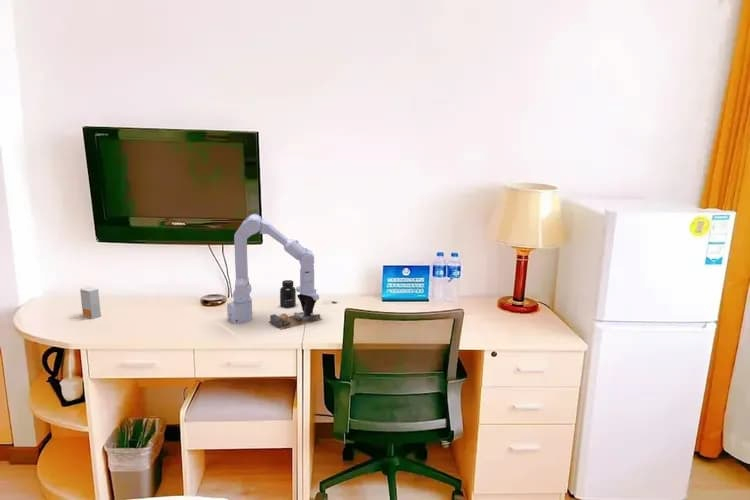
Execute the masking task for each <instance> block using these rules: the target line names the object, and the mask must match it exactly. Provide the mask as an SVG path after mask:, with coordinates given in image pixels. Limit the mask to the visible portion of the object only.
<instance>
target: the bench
mask: <svg viewBox="0 0 750 500" xmlns="http://www.w3.org/2000/svg"><path fill="white" fill-rule="evenodd" d="M303 313H304V312H303V311H302V312H301V311H300V312H298V314H303ZM312 314H314V311H313V312H312ZM279 316H280V315H277V314H275V313H274V314H270V315H269V321H267V323H268V324H271V325H272V326H274V327H276V328H277V329H279V330H280V331H282V330H286V329H291V328H294V327H299V326H303V325H307V324H311V323H315V322H320V321H323V320H324V319H323V318H321V314H320V313H317V314H314V315H312V316H308V317H304V318H301V321H298V320H297V319H295V318H294V315H291V316H288V317H289V320H288V322H285V323H283V324H282V318H280V317H279Z"/></svg>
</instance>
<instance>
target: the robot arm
mask: <svg viewBox="0 0 750 500" xmlns="http://www.w3.org/2000/svg"><path fill="white" fill-rule="evenodd" d="M258 233H259V234H261V235H268V236H269V237H270V238H272V239H274V240H275V241H276V242H278V243H279V244H281V245H282V246H283V250H284V251H285V252H286V253H288V254H289V255H290V256H291V257H293V258H294V259H295V260H297V261H298V263H299V264H300V269H299V272H300V273H299V278H300V279H299V286H296V287H295V289H296V293H299V294H296V298H298V300H299V302H300V306H301V309H302V312H304V303H305V304H306V310H307V314H311V313H312V312H313V313H314V307H315V304H316V303H317V301H318V300H320V294H318V293H317V289H316V288H315V268H314V267H315V265H314V264H315V254H314V253H313V252H312V250H311V249H308V248H307V247H304V246H303V245H302V244H301V243H299V242H300V241H299V240H298V239H294V238H288V237H287V236H286V235H285V234H283V232H281V231H280V230H279V229H277V228H276V227H275V226H274V225H273V224H271V223H270V222H269V221H268V220H267V219H266V218H262V216H260V215H259V214H257V213H252V214H250V215H248V216H247V217H246V218H245V219H244V220H243V221H242V223H241V224H240V225H239V227H238V229H237V230H236V231H235V233H234V236H233V237H234V238H233V241H234V243H233V244H234V265H235V282H234V290H233V293H232V298H233V301H231V302H228V303H227V307H226V308H227V309H226V310H227V311H226V312H227V320H228V322H230V323H232V324H233V325H234V324H235V325H236V324H240V323H247V322H251V321H252V320H253V306H252V305H253V301H252V300H253V299H252V297H251V296H250V294H251V293H252V285H251V284H250V278H249V275H248V273H249V269H248V266H249V265H248V243H247V242H248V239H249V238H250V237H251V236H254V235H256V234H258Z"/></svg>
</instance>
